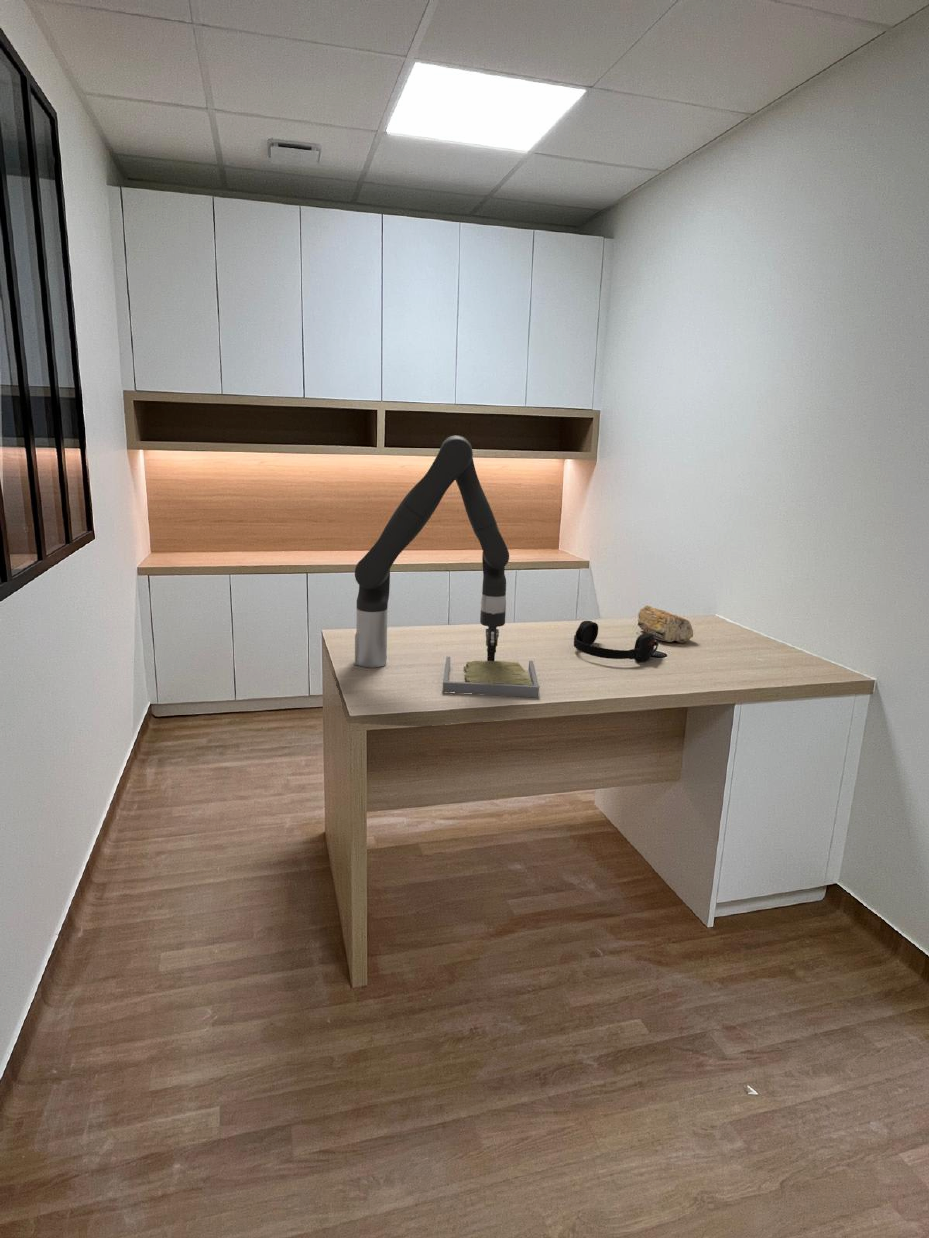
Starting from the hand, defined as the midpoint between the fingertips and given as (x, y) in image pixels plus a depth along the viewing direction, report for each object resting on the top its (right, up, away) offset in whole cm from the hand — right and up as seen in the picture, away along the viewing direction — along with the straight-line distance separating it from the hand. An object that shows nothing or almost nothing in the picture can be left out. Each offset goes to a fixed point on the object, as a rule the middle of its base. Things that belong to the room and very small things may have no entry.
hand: (490, 663), depth 226 cm
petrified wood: (+64, +7, +44) cm, 78 cm away
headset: (+43, +2, +21) cm, 48 cm away
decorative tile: (+1, -5, -10) cm, 12 cm away
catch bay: (-1, -4, -10) cm, 11 cm away
